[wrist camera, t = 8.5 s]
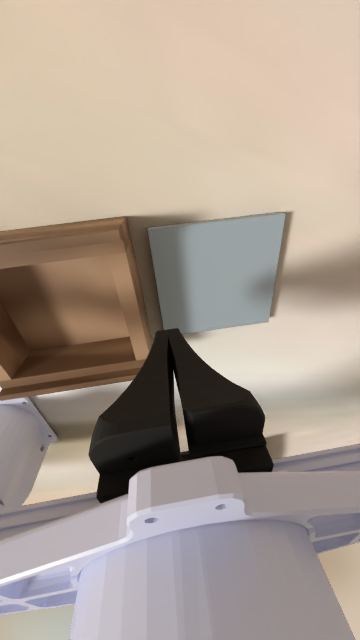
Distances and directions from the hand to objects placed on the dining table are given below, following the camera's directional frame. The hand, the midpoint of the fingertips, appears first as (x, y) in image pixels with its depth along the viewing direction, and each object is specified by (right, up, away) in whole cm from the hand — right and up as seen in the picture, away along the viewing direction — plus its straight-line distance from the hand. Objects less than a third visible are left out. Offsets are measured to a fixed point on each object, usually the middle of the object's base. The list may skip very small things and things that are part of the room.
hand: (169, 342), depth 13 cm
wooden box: (-9, +3, +7) cm, 12 cm away
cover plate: (+4, +6, +8) cm, 10 cm away
